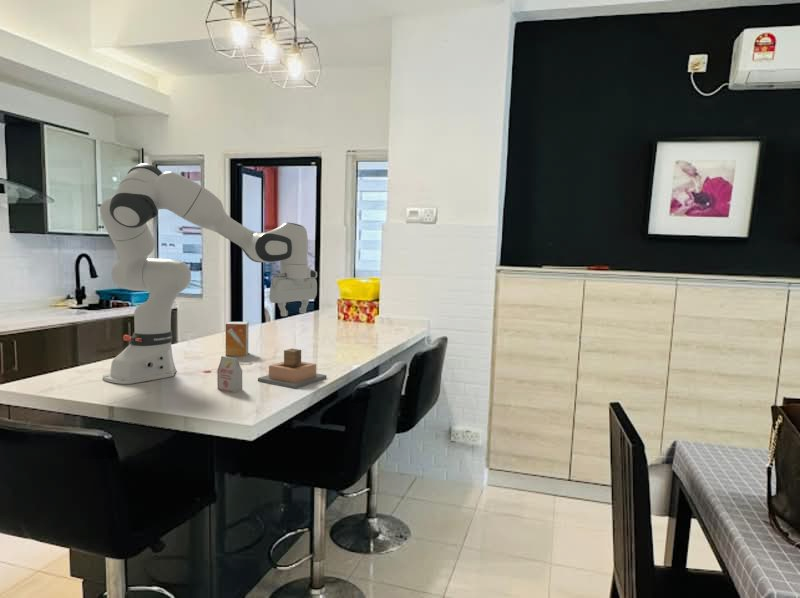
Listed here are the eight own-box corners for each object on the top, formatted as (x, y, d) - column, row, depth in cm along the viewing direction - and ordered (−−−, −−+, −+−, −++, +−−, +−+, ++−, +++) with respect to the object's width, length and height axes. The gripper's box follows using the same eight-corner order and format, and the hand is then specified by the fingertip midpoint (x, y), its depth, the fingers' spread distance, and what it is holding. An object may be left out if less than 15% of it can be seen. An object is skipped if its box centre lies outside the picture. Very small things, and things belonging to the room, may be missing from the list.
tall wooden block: (293, 378, 172) (293, 351, 171) (283, 377, 174) (284, 350, 173) (301, 376, 175) (301, 349, 174) (291, 374, 177) (292, 348, 176)
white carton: (226, 386, 164) (226, 355, 163) (242, 389, 161) (242, 358, 160) (217, 389, 161) (217, 357, 160) (233, 392, 158) (233, 360, 157)
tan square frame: (295, 388, 164) (296, 372, 163) (257, 381, 171) (257, 366, 171) (326, 378, 178) (326, 363, 177) (290, 371, 186) (290, 357, 185)
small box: (225, 356, 208) (225, 323, 206) (228, 352, 214) (228, 321, 213) (246, 356, 209) (246, 323, 207) (248, 352, 215) (248, 321, 214)
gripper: (280, 274, 161) (279, 318, 162) (320, 272, 179) (319, 312, 180) (264, 273, 164) (264, 317, 165) (305, 271, 182) (305, 310, 183)
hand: (293, 314), depth 173 cm, fingers open, 8 cm apart
